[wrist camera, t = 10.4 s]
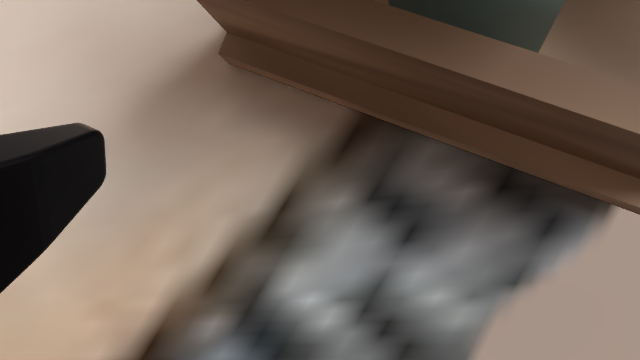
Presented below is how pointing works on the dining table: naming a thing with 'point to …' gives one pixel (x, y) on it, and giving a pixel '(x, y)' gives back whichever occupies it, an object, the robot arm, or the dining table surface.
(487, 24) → the pale teal box
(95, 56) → the dining table surface
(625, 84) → the rack
